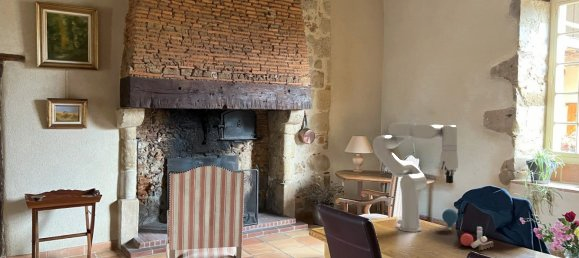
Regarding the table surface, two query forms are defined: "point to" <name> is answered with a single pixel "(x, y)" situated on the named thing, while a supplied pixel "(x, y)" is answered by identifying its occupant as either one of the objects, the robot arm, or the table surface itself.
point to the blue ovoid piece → (450, 217)
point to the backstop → (486, 245)
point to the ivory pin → (479, 242)
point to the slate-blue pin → (479, 233)
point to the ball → (466, 239)
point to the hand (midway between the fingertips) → (449, 182)
